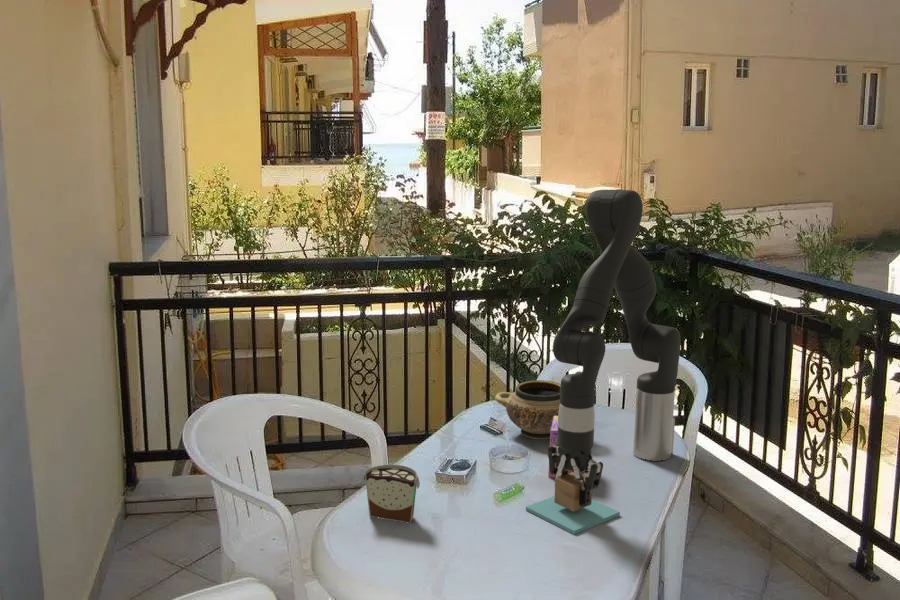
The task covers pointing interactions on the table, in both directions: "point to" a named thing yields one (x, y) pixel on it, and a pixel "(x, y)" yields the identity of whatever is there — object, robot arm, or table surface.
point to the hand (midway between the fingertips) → (573, 499)
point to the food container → (391, 492)
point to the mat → (572, 515)
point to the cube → (569, 492)
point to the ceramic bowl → (532, 407)
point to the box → (554, 440)
